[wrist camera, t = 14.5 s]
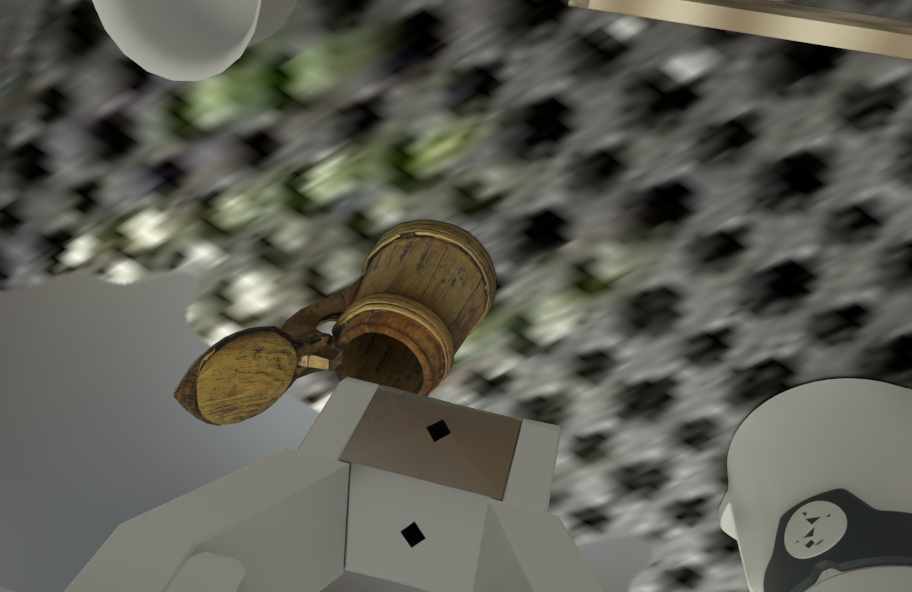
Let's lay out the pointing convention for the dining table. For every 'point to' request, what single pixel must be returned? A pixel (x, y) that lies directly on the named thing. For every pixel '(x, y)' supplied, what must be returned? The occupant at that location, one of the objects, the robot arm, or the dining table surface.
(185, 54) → the chalice
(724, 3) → the box
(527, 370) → the dining table surface
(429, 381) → the wooden mug
